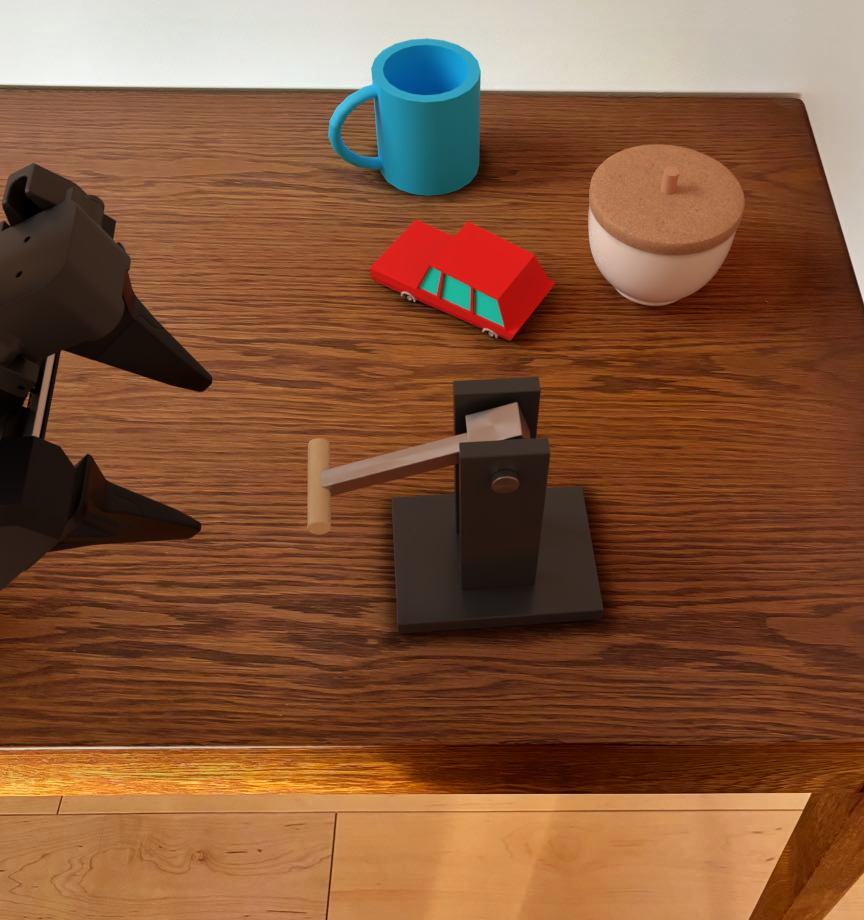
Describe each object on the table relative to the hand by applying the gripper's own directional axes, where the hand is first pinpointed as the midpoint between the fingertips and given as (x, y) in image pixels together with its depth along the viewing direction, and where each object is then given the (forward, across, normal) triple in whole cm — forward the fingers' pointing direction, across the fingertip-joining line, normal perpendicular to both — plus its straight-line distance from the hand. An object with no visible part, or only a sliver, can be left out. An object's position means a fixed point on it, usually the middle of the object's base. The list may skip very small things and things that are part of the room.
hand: (202, 454), depth 50 cm
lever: (+10, 0, -6) cm, 11 cm away
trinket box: (+29, +24, -12) cm, 40 cm away
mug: (+17, +38, +1) cm, 42 cm away
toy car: (+19, +24, -2) cm, 30 cm away
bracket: (+19, 0, -2) cm, 19 cm away
